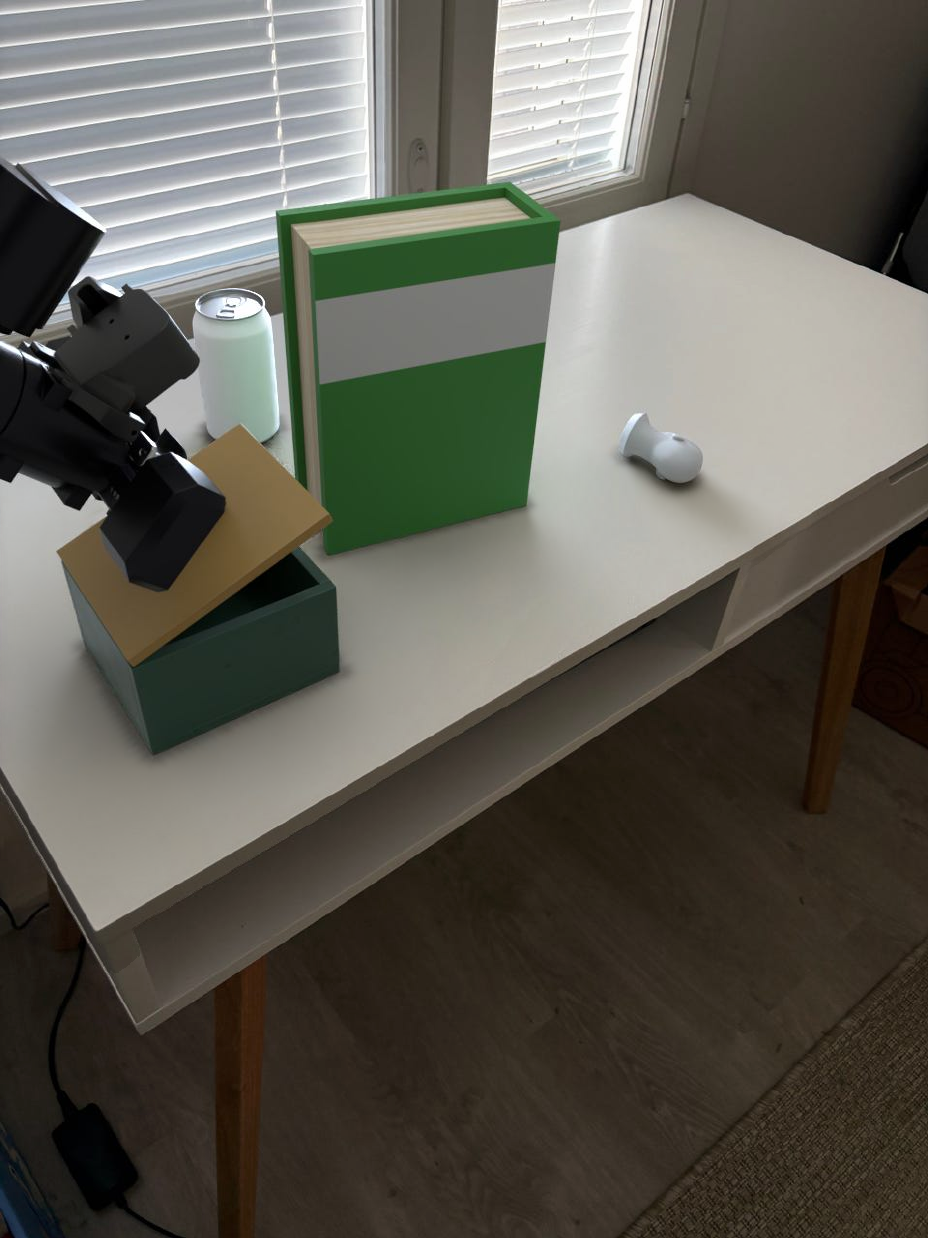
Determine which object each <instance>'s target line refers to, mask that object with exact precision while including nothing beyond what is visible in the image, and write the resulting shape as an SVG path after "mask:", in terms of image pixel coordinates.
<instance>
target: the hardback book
mask: <svg viewBox="0 0 928 1238" xmlns="http://www.w3.org/2000/svg"><path fill="white" fill-rule="evenodd" d="M275 220H276V221H275V222H276V234H277V236H276V237H277V248H278V261H279V262H278V263H279V275H280V290H281V291H280V292H281V305H282V318H283V328H284V329H283V332H284V333H283V334H284V343H285V344H284V345H285V346H284V347H285V355H286V356H285V357H286V358H285V359H286V375H287V386H288V387H287V388H288V399H289V401H288V403H289V413H290V427H291V443H292V452H293V453H292V455H293V456H292V457H293V470H294V478H295V479H296V480H297V481H298V482H299V483H300V484H301V485H302V486H303V487H304V488H305V489H306V490H307V491H308V492H309V493H310V494H311V495H312V496H313V497H314V498H315V499H316V500H317V501H318V502H319V503H320V504H321V505H322V507H323V508H324V509H325V510H326V511H327V512H328V513H329V514H330V516H331V518H332V520H333V522H331V523H330V524H329V525H327V526H326V527H325V528H323V529H322V540H323V549H324V551H325V553H326V555H327V556H332V555H335V554H340V553H343V552H347V551H352V550H356V549H359V548H364V547H367V546H371V545H374V544H378V543H383V542H388V541H391V540H395V539H399V538H403V537H408V536H410V535H415V534H418V533H422V532H426V531H430V530H435V529H439V528H442V527H446V526H450V525H454V524H458V523H463V522H466V521H470V520H471V521H472V520H474V519H478V518H479V519H480V518H482V517H486V516H491V515H494V514H498V513H502V512H506V511H510V510H514V509H519V508H521V507H526V506H527V505H528V504H527V503H528V497H529V488H530V480H531V479H530V478H531V471H532V464H533V455H534V445H535V439H536V429H537V421H538V414H539V405H540V396H541V387H542V380H543V371H544V362H545V353H546V348H547V347H546V345H547V339H548V329H549V321H550V313H551V312H550V311H551V305H552V295H553V289H554V288H553V287H554V279H555V271H556V263H557V254H558V246H559V238H560V229H561V219H560V218H559V217H557V216H556V215H555V214H554V213H552V212H551V211H549V210H548V209H546V208H545V207H544V206H543V205H542V204H541V203H539V202H538V201H536V200H535V199H534V198H533V197H531V196H530V195H528V194H527V193H525V192H524V191H523V190H522V189H520V188H519V187H518V186H516V185H515V184H514V183H512V182H511V181H505V182H496V183H488V184H481V185H474V186H473V185H472V186H464V187H456V188H448V189H440V190H431V191H423V192H416V193H415V192H414V193H408V194H398V195H391V196H382V197H375V198H367V199H358V200H350V201H340V202H335V203H327V204H326V203H325V204H319V205H310V206H301V207H293V208H285V209H277V210H275Z"/></svg>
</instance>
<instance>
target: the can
mask: <svg viewBox="0 0 928 1238" xmlns="http://www.w3.org/2000/svg"><path fill="white" fill-rule="evenodd" d="M265 305H266V303H265V300H264V298H263V297H262V296H261V295H260V294H258V293H256V292H254V291H251V290H248V289H243V288H221V289H220V288H219V289H214V290H211V291H208V292H205V293H203V294H202V295H200V296H199V297H198V298H197V299H196V300H195V302H194V308H195V312H194V315H193V318H192V334H193V340H194V348H195V349H194V350H195V352H196V353H197V354H198V356H199V358H200V363H199V366H198V368H197V371H198V379H199V385H200V392H201V399H202V406H203V413H204V418H205V419H204V420H205V426H206V430H207V432H208V434H209V435H210V437H212V438H213V439H214V441H215V440H217V439H218V438H220V437H221V436H222V435H224V434H225V433H227V432H228V431H230V430H231V429H232V428H234V427H235V426H237V425H238V424H240V423H241V424H242V425H243V426H244V427H245V428H246V429H247V430H248V431H249V432H250V433H251V434H252V435H253V436H254V437H255V438H256V439H257V440H258V441H259V442H260V443H261V444H263V443H265V442H267V441H269V440H270V439H271V438H272V437H273V436H275V434H276V433H277V432H278V430H279V427H280V411H279V398H278V386H277V385H278V384H277V372H276V360H275V349H274V348H275V347H274V339H273V338H274V337H273V336H274V335H273V327H272V326H273V325H272V320H271V316H270V314H269V312H268V311H267V309H266V307H265Z"/></svg>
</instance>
